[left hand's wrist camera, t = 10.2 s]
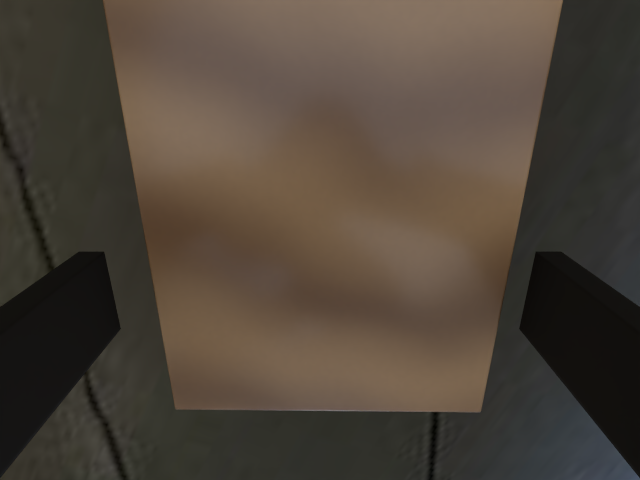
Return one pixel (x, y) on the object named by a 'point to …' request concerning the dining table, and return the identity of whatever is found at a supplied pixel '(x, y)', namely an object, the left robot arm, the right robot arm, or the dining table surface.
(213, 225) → the cabinet
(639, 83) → the dining table surface
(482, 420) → the dining table surface
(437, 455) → the dining table surface
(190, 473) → the dining table surface
